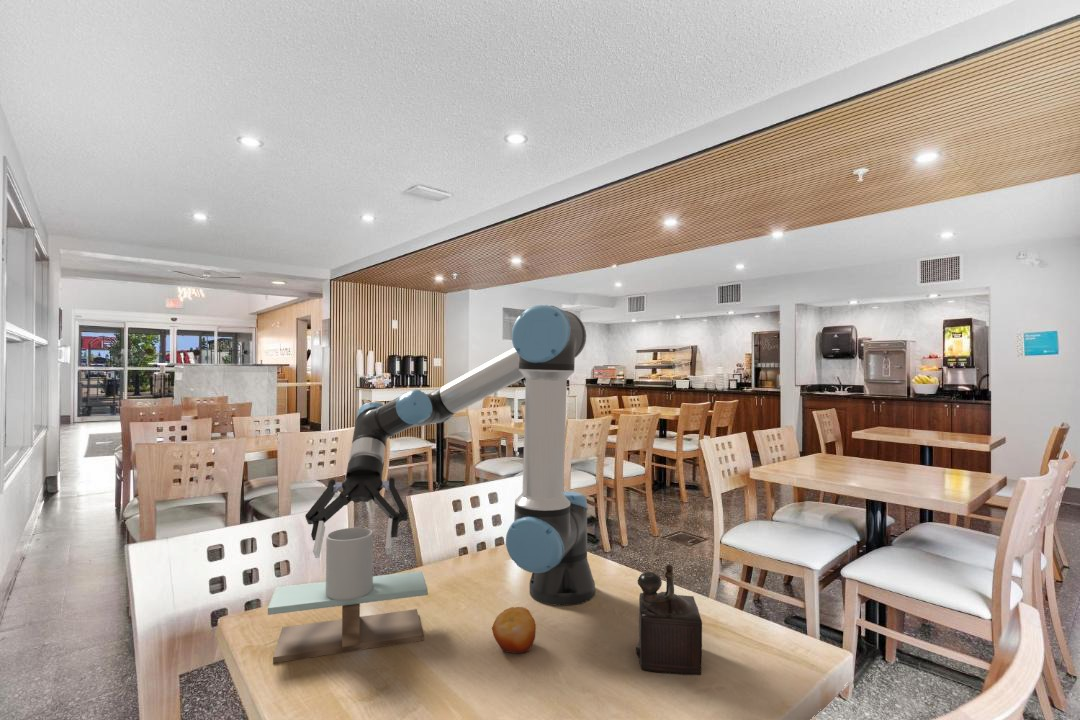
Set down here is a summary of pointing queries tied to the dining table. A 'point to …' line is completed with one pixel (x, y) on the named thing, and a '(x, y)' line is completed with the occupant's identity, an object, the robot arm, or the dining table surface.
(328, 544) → the mug
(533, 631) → the fruit
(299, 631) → the fulcrum stand
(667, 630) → the manual coffee grinder
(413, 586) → the plank
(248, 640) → the dining table surface
